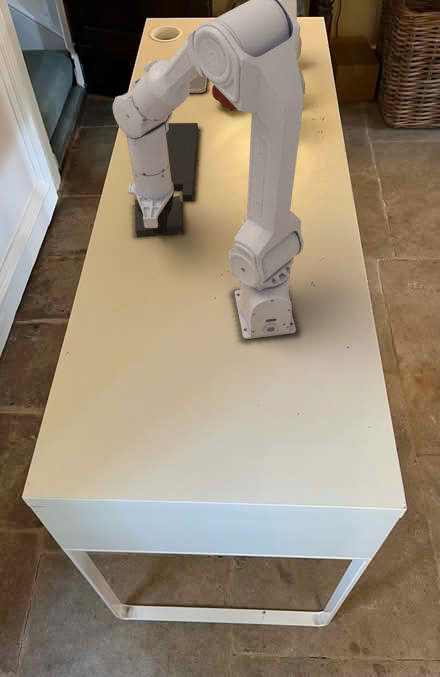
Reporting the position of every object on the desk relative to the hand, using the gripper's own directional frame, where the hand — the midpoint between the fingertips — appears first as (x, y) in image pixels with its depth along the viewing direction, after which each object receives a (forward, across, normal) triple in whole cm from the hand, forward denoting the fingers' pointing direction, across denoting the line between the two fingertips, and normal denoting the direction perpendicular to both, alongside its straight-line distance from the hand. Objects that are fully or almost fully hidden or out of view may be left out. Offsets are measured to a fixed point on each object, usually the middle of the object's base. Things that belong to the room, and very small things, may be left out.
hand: (160, 230), depth 102 cm
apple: (+2, -39, +12) cm, 41 cm away
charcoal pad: (+2, -6, -1) cm, 6 cm away
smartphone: (+2, -52, +2) cm, 52 cm away
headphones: (+2, -48, +22) cm, 53 cm away
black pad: (+2, -20, 0) cm, 21 cm away
